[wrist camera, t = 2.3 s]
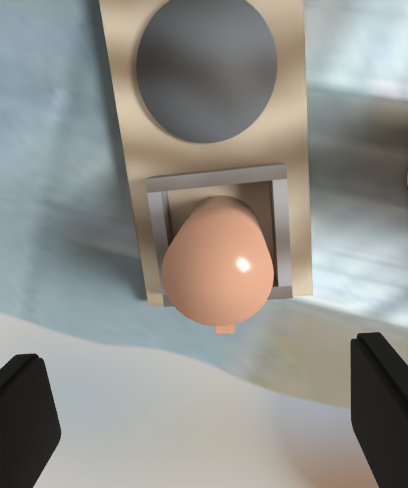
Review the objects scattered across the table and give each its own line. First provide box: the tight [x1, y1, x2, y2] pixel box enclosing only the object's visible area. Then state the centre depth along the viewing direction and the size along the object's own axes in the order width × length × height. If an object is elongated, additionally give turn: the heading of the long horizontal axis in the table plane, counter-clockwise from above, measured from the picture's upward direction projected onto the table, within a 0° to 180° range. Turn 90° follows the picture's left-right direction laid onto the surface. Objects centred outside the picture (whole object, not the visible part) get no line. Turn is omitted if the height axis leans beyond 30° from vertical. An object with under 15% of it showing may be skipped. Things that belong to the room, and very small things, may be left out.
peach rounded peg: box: [162, 195, 274, 334], centre depth 24 cm, size 8×6×10 cm
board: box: [99, 0, 313, 307], centre depth 26 cm, size 24×14×4 cm, turn 6°
